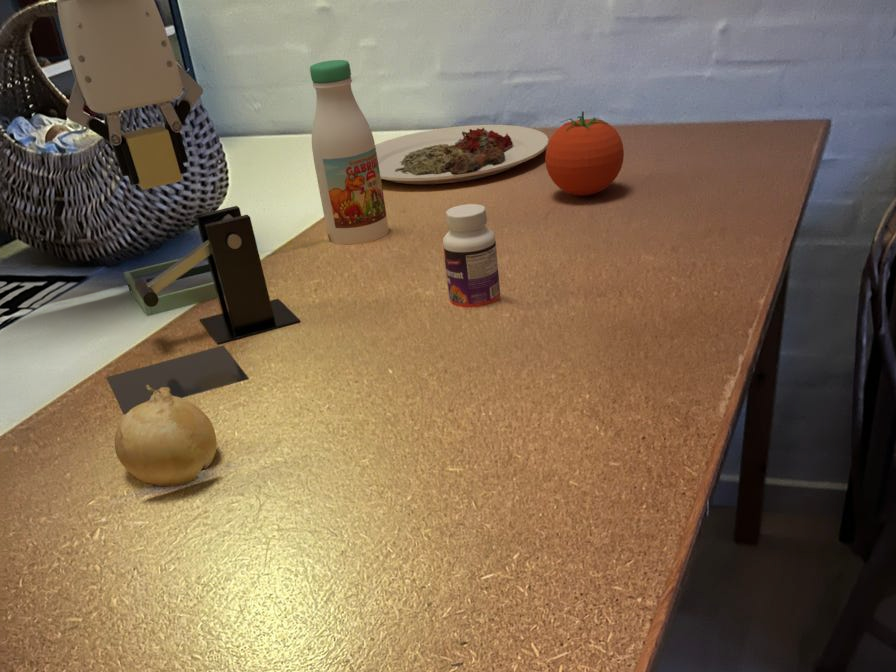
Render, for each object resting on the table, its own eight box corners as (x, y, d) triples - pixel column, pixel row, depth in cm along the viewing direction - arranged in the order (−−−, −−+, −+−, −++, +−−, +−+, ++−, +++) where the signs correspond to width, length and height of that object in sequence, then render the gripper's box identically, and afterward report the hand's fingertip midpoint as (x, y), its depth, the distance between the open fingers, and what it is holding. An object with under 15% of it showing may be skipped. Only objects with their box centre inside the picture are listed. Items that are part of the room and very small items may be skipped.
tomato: (612, 206, 125) (610, 120, 119) (536, 206, 129) (531, 122, 122) (633, 183, 132) (632, 100, 126) (561, 183, 136) (557, 103, 130)
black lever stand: (220, 353, 101) (186, 235, 93) (202, 330, 106) (169, 217, 99) (302, 331, 103) (276, 214, 96) (280, 309, 109) (254, 197, 101)
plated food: (319, 191, 146) (315, 166, 143) (407, 138, 166) (404, 116, 164) (506, 193, 135) (504, 166, 133) (575, 136, 156) (574, 112, 153)
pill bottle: (443, 304, 105) (430, 209, 99) (488, 292, 106) (479, 198, 100) (462, 319, 101) (450, 222, 95) (509, 307, 102) (501, 210, 96)
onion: (239, 475, 80) (215, 395, 75) (145, 510, 77) (115, 429, 73) (205, 441, 85) (181, 364, 81) (117, 472, 83) (87, 395, 78)
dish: (149, 324, 109) (142, 301, 108) (130, 293, 118) (123, 272, 116) (254, 297, 113) (248, 274, 111) (227, 269, 122) (222, 248, 120)
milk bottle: (319, 251, 123) (283, 71, 111) (347, 231, 129) (316, 57, 116) (373, 252, 121) (342, 68, 108) (399, 232, 126) (373, 54, 113)
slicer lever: (153, 314, 97) (137, 293, 95) (143, 299, 101) (128, 279, 99) (251, 242, 97) (237, 221, 96) (238, 231, 101) (225, 210, 99)
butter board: (126, 424, 90) (123, 414, 89) (109, 386, 97) (105, 376, 96) (252, 388, 93) (249, 378, 92) (226, 354, 100) (223, 344, 100)
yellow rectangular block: (142, 190, 105) (127, 139, 102) (136, 182, 108) (120, 133, 105) (182, 181, 106) (168, 130, 103) (175, 174, 109) (161, 124, 106)
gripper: (175, -39, 100) (223, 154, 112) (6, -11, 96) (75, 187, 107) (191, -36, 95) (240, 166, 107) (13, -6, 90) (85, 201, 102)
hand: (157, 174), depth 107 cm, fingers closed on yellow rectangular block, 4 cm apart
